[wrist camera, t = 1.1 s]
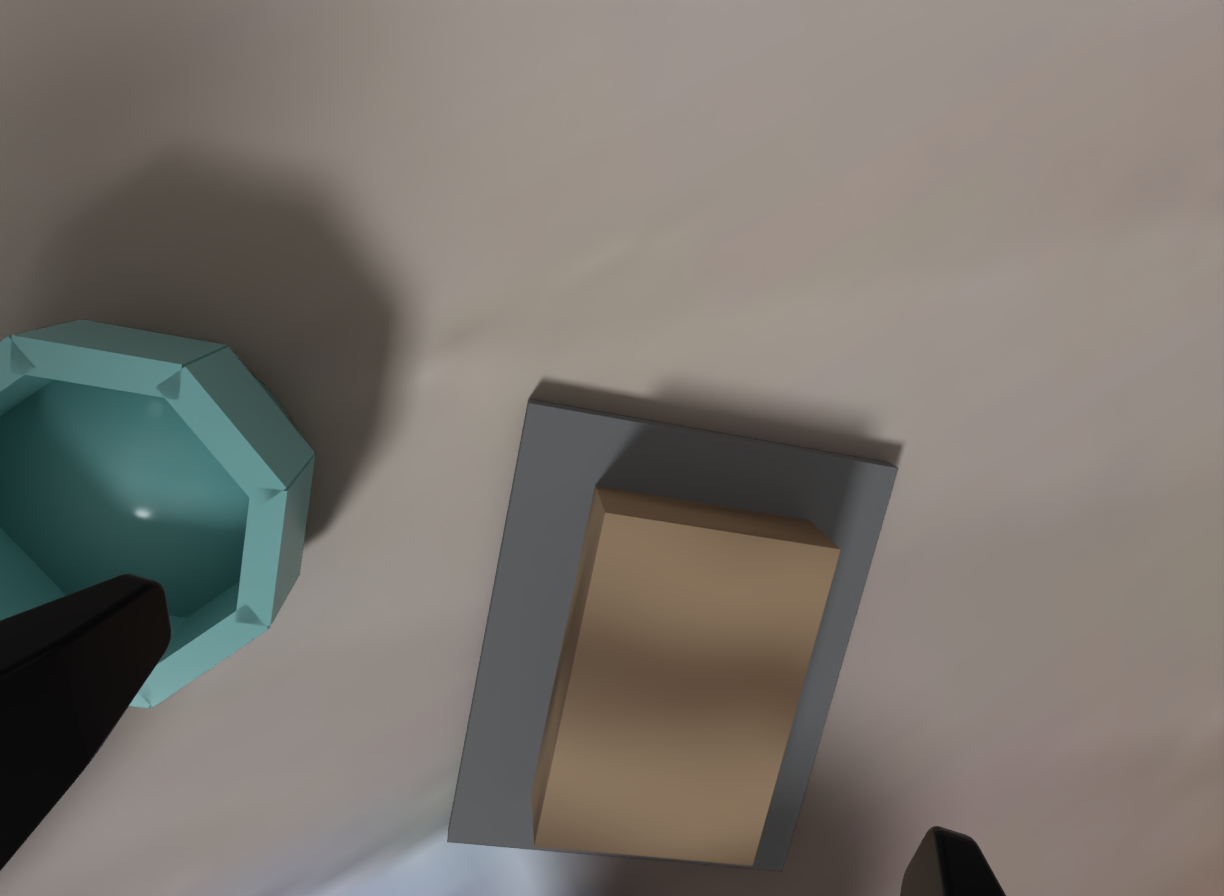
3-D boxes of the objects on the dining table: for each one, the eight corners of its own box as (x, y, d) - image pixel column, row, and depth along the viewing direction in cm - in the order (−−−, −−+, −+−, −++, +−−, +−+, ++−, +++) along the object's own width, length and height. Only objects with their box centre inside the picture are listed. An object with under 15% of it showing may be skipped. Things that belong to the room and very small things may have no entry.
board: (731, 812, 28) (752, 865, 26) (531, 793, 27) (534, 846, 24) (809, 520, 26) (840, 549, 23) (594, 485, 25) (605, 512, 22)
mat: (776, 858, 29) (782, 871, 29) (448, 828, 27) (447, 842, 27) (889, 462, 26) (898, 468, 26) (528, 398, 24) (529, 403, 24)
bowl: (296, 640, 25) (258, 719, 21) (-21, 601, 24) (-127, 678, 20) (334, 357, 23) (300, 384, 19) (-7, 296, 22) (-121, 312, 18)
